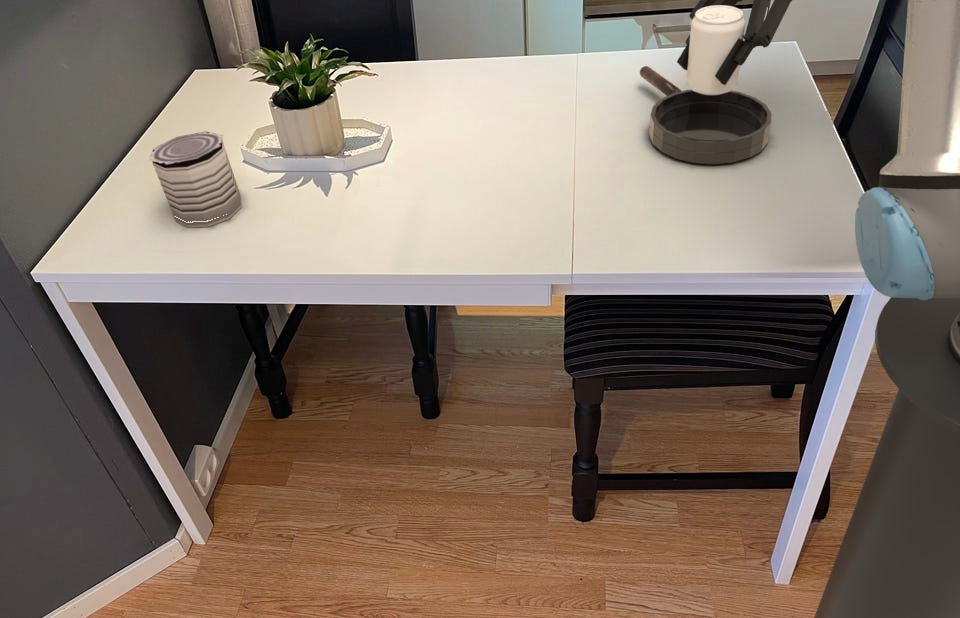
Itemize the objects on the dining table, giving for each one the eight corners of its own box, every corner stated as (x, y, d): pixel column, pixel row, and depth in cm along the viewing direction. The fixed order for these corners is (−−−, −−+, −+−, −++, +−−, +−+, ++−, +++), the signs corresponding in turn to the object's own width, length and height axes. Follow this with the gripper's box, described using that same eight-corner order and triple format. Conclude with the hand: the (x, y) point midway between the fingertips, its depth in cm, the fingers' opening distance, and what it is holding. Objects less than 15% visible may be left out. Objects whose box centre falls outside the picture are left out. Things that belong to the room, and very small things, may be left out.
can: (172, 234, 125) (145, 168, 118) (175, 199, 134) (150, 135, 126) (244, 219, 127) (222, 153, 119) (242, 185, 136) (221, 121, 128)
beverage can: (742, 95, 126) (752, 21, 118) (690, 99, 126) (697, 25, 119) (730, 74, 132) (739, 2, 124) (681, 78, 133) (687, 6, 125)
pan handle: (684, 101, 141) (685, 89, 139) (673, 104, 140) (674, 92, 139) (647, 74, 150) (648, 63, 149) (637, 76, 150) (637, 65, 148)
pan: (791, 149, 130) (796, 124, 127) (687, 178, 126) (690, 152, 123) (724, 102, 144) (727, 79, 141) (629, 127, 140) (630, 104, 137)
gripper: (848, -34, 118) (760, 103, 121) (740, -58, 131) (664, 66, 134) (833, -63, 112) (742, 81, 116) (722, -85, 125) (643, 45, 129)
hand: (700, 73), depth 125 cm, fingers closed on beverage can, 7 cm apart
